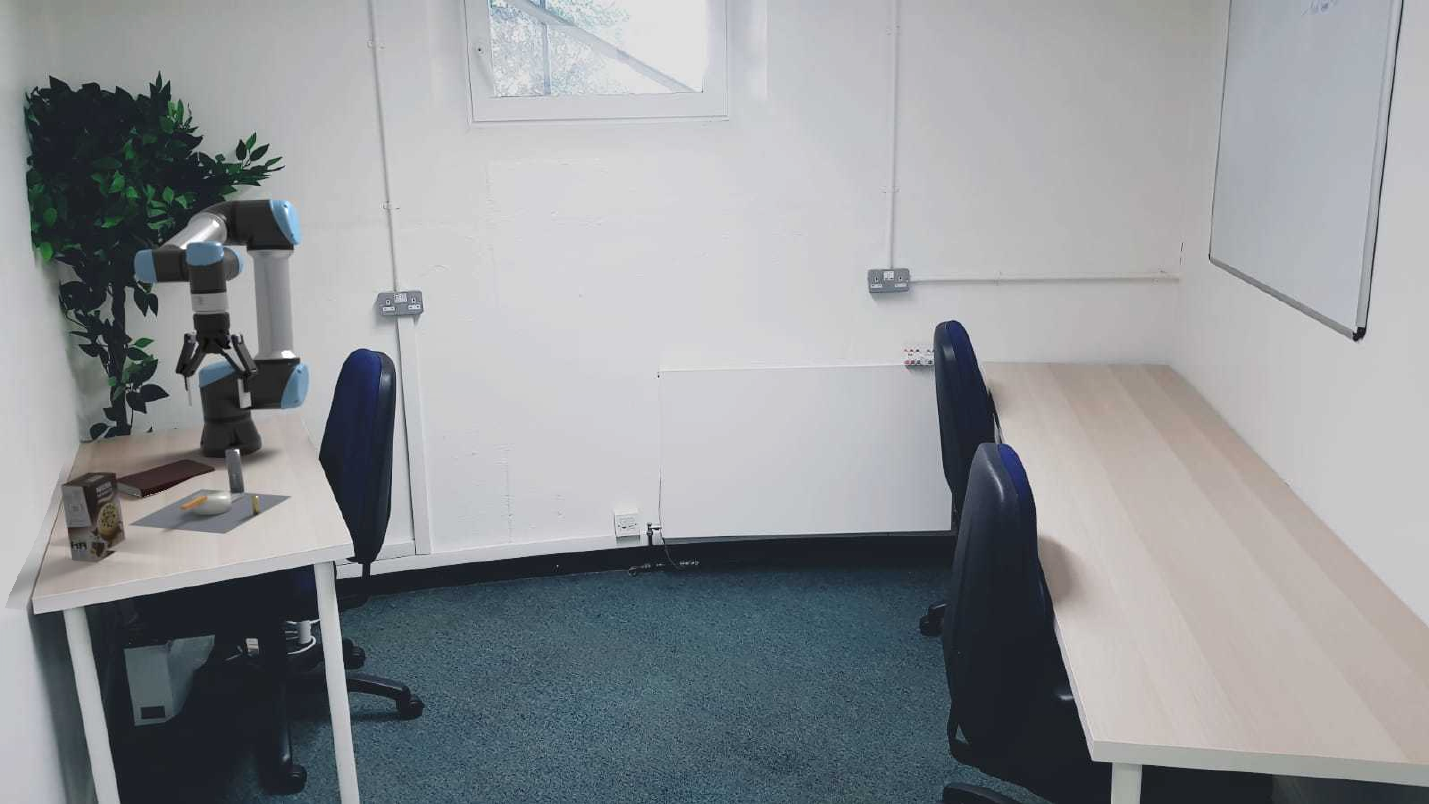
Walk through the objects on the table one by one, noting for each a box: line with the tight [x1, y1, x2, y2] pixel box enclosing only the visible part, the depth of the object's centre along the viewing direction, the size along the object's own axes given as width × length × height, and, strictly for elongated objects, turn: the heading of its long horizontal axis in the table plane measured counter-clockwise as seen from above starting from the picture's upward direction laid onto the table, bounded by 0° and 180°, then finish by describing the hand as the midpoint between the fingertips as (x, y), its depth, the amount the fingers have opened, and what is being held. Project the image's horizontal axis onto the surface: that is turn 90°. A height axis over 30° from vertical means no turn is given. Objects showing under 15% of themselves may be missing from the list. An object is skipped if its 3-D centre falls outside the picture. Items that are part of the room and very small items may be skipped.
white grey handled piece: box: [181, 448, 245, 516], centre depth 266 cm, size 20×8×11 cm, turn 165°
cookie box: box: [60, 471, 126, 563], centre depth 245 cm, size 9×6×16 cm
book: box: [117, 458, 216, 498], centre depth 291 cm, size 12×19×3 cm, turn 145°
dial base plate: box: [128, 488, 292, 534], centre depth 267 cm, size 24×24×6 cm
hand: (220, 406), depth 271 cm, fingers open, 13 cm apart
